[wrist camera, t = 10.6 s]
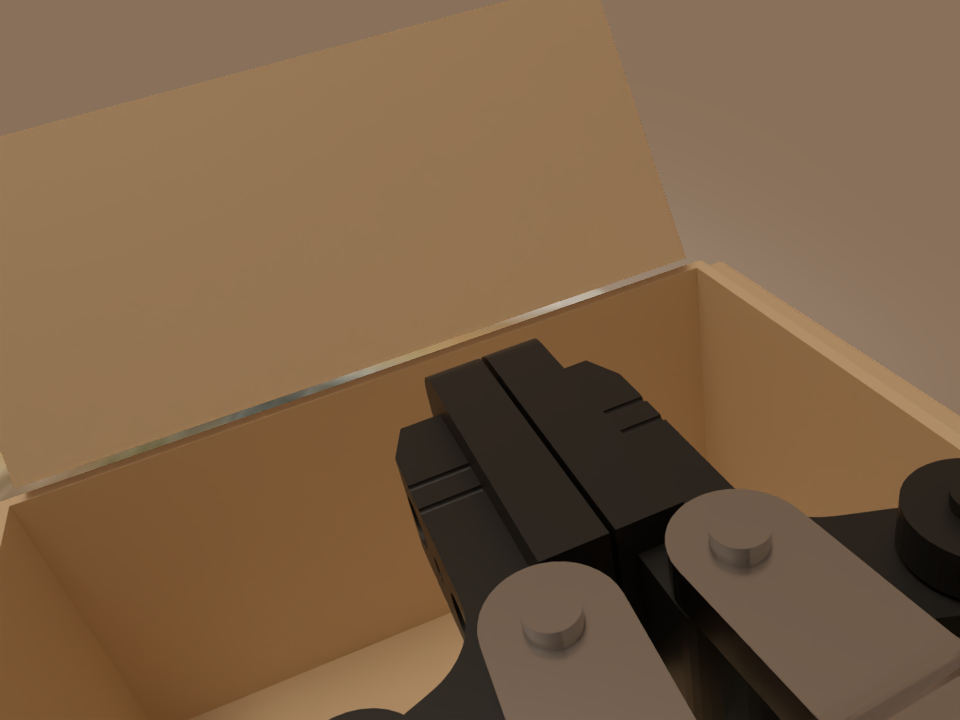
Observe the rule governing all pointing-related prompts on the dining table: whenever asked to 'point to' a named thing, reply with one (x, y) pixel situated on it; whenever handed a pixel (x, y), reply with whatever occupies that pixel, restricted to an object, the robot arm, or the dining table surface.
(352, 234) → the carton flap
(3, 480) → the dining table surface
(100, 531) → the carton
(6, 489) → the dining table surface
